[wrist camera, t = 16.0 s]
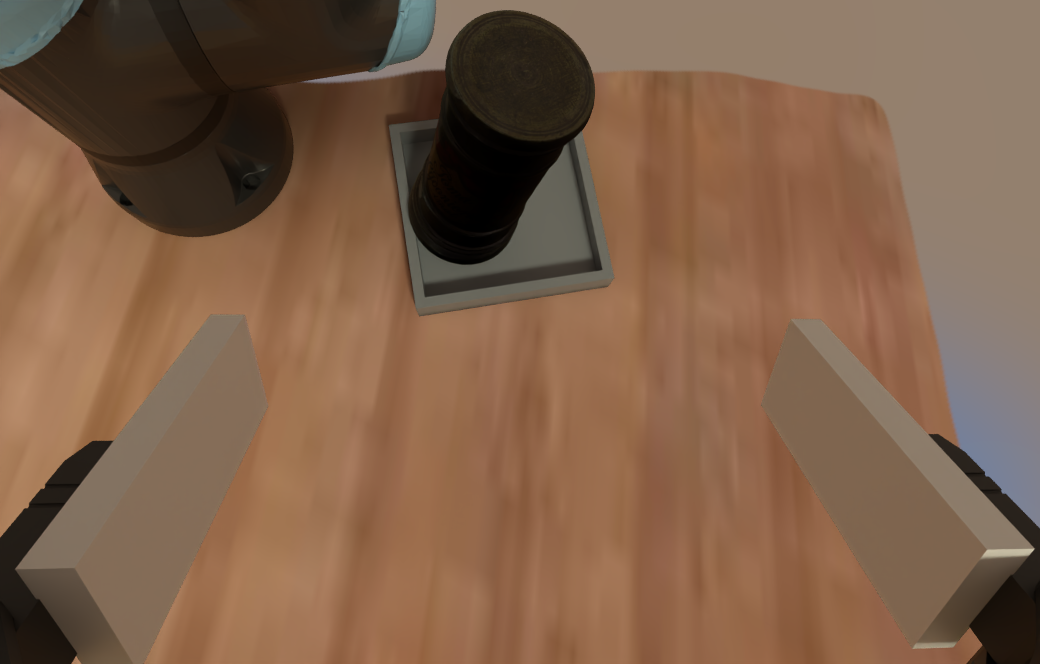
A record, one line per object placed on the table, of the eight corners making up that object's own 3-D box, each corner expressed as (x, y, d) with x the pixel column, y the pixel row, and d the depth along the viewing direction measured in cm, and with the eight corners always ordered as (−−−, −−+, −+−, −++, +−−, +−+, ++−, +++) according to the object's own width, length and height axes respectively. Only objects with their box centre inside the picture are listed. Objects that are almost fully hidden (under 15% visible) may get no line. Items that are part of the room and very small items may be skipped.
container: (449, 146, 49) (505, -28, 32) (533, 212, 50) (629, 76, 33) (383, 218, 46) (406, 67, 29) (473, 288, 46) (547, 180, 30)
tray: (419, 316, 47) (415, 308, 45) (393, 140, 50) (388, 124, 48) (607, 286, 49) (614, 277, 46) (571, 118, 52) (575, 102, 49)
